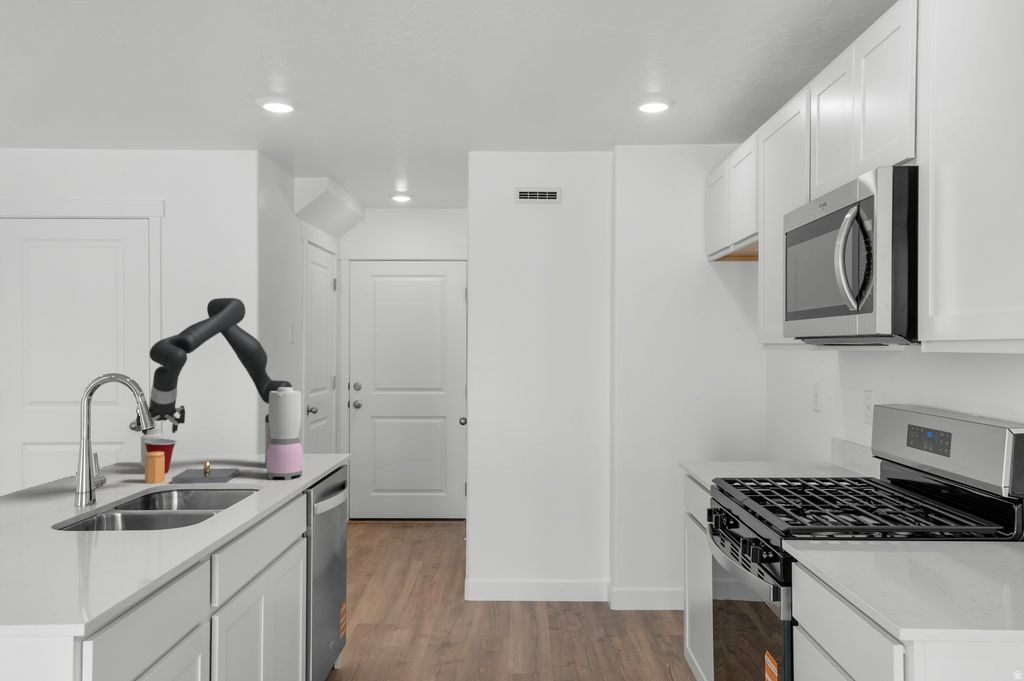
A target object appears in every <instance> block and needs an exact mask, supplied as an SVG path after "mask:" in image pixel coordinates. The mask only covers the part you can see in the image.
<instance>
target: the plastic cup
mask: <svg viewBox="0 0 1024 681" xmlns="http://www.w3.org/2000/svg"><path fill="white" fill-rule="evenodd" d="M144 443H145V444H146V450H147V452H155V451H161V452H164V456H165V474H167V473H169V471H170V465H171V461H172V456H173V451H174V449H175V448H174V447H175V445H176V444H177V443H178V442H177V441H176V440H175V439H170V438H169V439H168V438H164V439H149V440H145V441H144Z"/></svg>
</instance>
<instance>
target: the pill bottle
mask: <svg viewBox="0 0 1024 681" xmlns="http://www.w3.org/2000/svg"><path fill="white" fill-rule="evenodd" d="M160 432H161V428H160V426H157V425H155V428H154V429H152V430H150V431H147V435H144V434H142V435H141V437H140V464H141V465H140V466H141V467H142V468H145V453H147V450H146V444H145V443H144V441H145V440H149V439H165V436H164V434H162V433H160Z"/></svg>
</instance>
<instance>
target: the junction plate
mask: <svg viewBox="0 0 1024 681" xmlns="http://www.w3.org/2000/svg"><path fill="white" fill-rule="evenodd" d="M239 474H240V468H236V467H235V468H234V467H233V468H211V462H210V461H209V460H206V461H203V468H187V469H185V470H183V471H182V472H180V473H178V474H176V475H174V476H173V477H171V484H174V485H176V484H216V483H217V484H222V483H223V484H225V483H229V482H231V480H232V479H234V478H235V477H237V476H238V475H239Z"/></svg>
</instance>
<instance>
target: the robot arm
mask: <svg viewBox="0 0 1024 681" xmlns="http://www.w3.org/2000/svg"><path fill="white" fill-rule="evenodd" d="M206 310H207V315H208V316H207V318H206V319H203V320H200V321H198V322H196V323H193V324H191V325H189V326H187V327H186V328H185V329H183V330H182V331H181V332H179V333H178V334H175V335H171V336H169V337H166V338H163V339H160V340H158V341H157V342H156V343H154V345H152V347H150V350H149V357H150V359H151V360H152V361H153V362H154V363H157V364H159V365H160V366H159V367H157V368H156V369H155V370H154V372H153V378H152V379H153V380H152V386H151V390H150V400H149V407H148V408H149V412H150V414H151V417H152V419H153V421H154V422H155V421H156V422H159V421H169V422H170V423H172V424H171V426H172V427H171V432H172V434H175V433H176V432H178V427H179V425H180V424H184V423H185V422H186V419H185V418H186V410H185V406H184V405H181V406H180V407H176V404H177V397H178V382H179V377H180V374H181V372H182V369H183V368H184V366H185V364H186V362H187V360H188V355H189V354H191V353H192V352H194V351H196V350H197V349H198V348H200V347H201V346H202V345H204V343H206V342H207V341H208V340H210V339H211V338H213V337H215V336H217V335H218V334H219V333H220V334H221V335H222V336H223V337H224V339H225V340H226V341H227V343H228V344H229V346H230V347H231V349H232V350H233V352H234V353H235V355H236V356H237V359H238V360H239V362H240V364H242V366H243V367H244V368H245V371H246V372H247V373H248V375H249V377H250V379H251V380H252V382H253V383H254V387H255V388H256V390H257V392H258V394H259V397H260V398H261V400H262V401H263V402H264V403H265V404H268V405H269V393H270V392H271V391H278V388H281V387H292V388H293V386H292V383H291V382H290V381H287V380H273V379H271V377H270V376H269V375H268V373H267V369H266V368H267V364H268V355H267V353H266V350H265V348H264V347H263V346H262V344H261V343H260V341H259V340H258V339H257V338H256V337H255V336H253V335H252V334H250V333H249V332H247V331H246V330H244V329H243V328H241V327H240V326H239V325H238V324H239V323H241V322H242V321H243V319H244V318H245V316H246V305H245V303H244V302H243V300H241V299H239V298H235V297H222V298H221V297H220V298H219V297H218V298H214V299H213V298H212V299H211V300H210V301H209V302H208V304H207V307H206ZM176 413H178V414H179V417H177V416H176V415H175V414H176ZM135 418H136V419H135V421H136V426H137V427H141V425H140V416H139V413H138V412H137V413H136V417H135ZM264 421H265V422H264V424H265V426H264V432H265V433H264V467H265V468H267V449H268V446H269V444H270V442H271V432H270V427H269V413H267V414H266V415H265V417H264ZM141 432H142V434H143V435H147V430H142V429H141Z"/></svg>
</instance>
